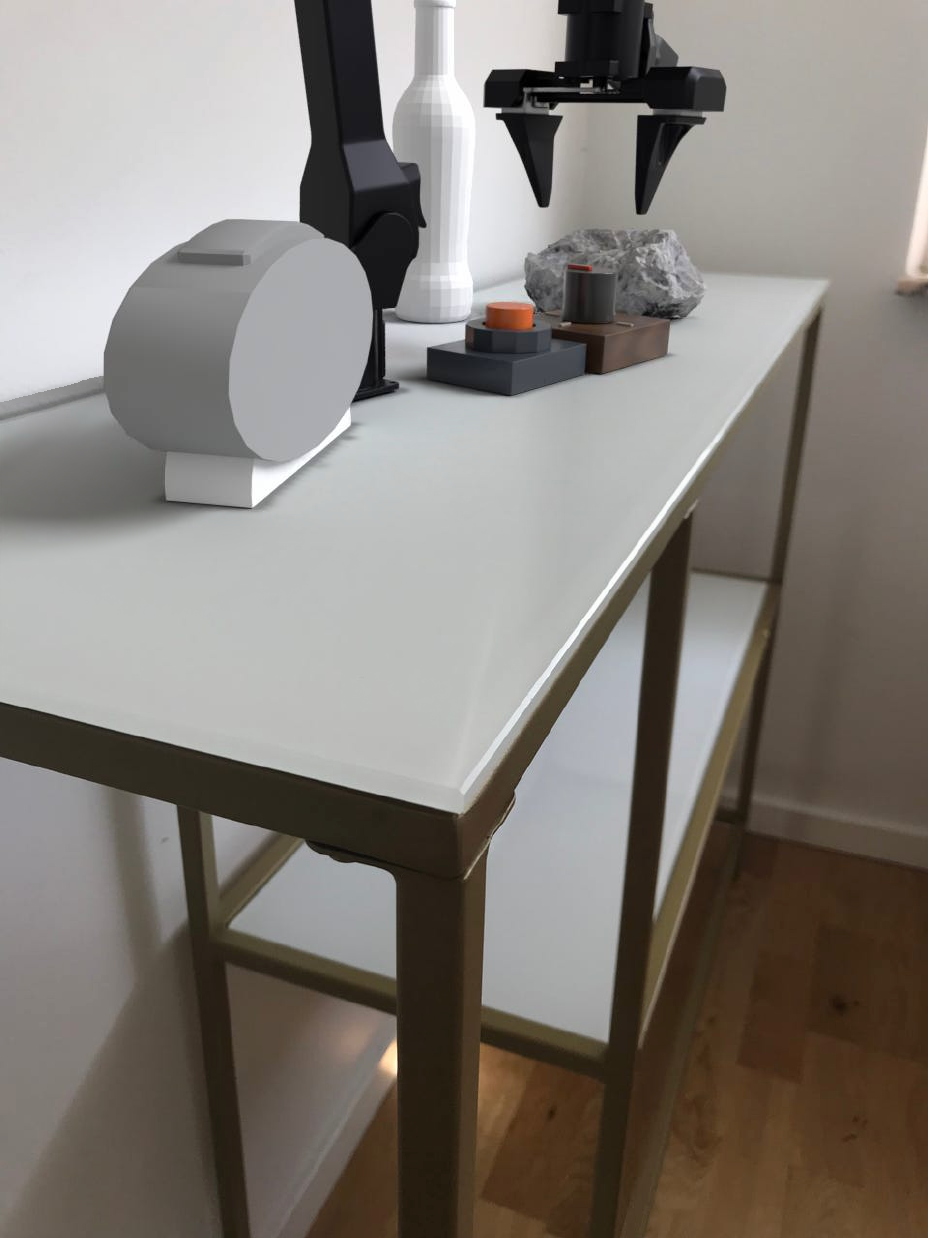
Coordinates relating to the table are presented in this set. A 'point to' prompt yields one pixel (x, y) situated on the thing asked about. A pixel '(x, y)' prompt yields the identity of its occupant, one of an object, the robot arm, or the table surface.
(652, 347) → the panel
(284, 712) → the table surface
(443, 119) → the bottle
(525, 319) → the button
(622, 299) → the rock
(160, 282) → the alarm clock
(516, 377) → the button box
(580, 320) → the knob
